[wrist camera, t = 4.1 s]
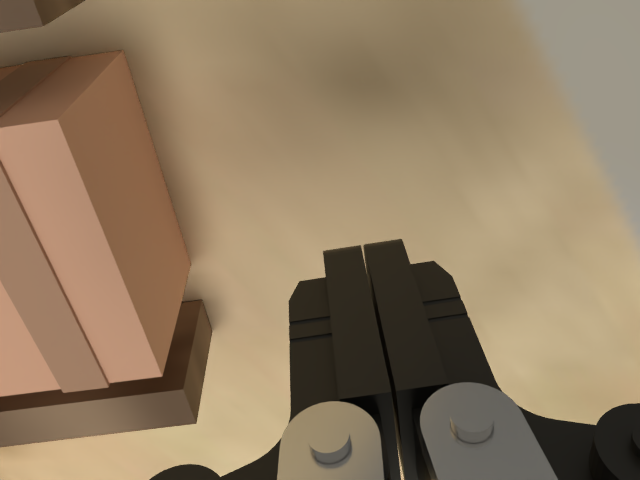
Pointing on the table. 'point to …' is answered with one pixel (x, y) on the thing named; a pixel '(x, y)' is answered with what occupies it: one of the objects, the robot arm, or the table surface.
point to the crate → (82, 230)
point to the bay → (120, 397)
